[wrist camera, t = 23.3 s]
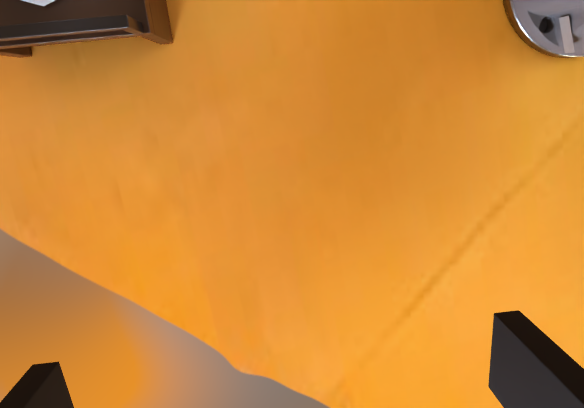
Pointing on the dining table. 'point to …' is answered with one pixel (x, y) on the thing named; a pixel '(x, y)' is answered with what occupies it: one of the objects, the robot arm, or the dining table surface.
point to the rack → (79, 22)
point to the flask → (39, 2)
